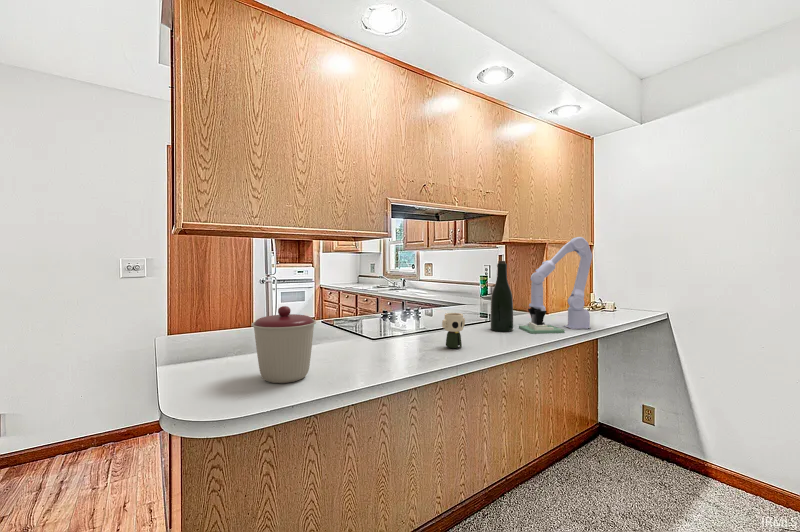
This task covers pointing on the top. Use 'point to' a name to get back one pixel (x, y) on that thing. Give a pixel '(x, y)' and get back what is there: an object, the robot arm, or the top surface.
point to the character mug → (453, 329)
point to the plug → (534, 319)
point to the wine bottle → (501, 302)
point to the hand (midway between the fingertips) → (536, 323)
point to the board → (541, 329)
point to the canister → (284, 345)
